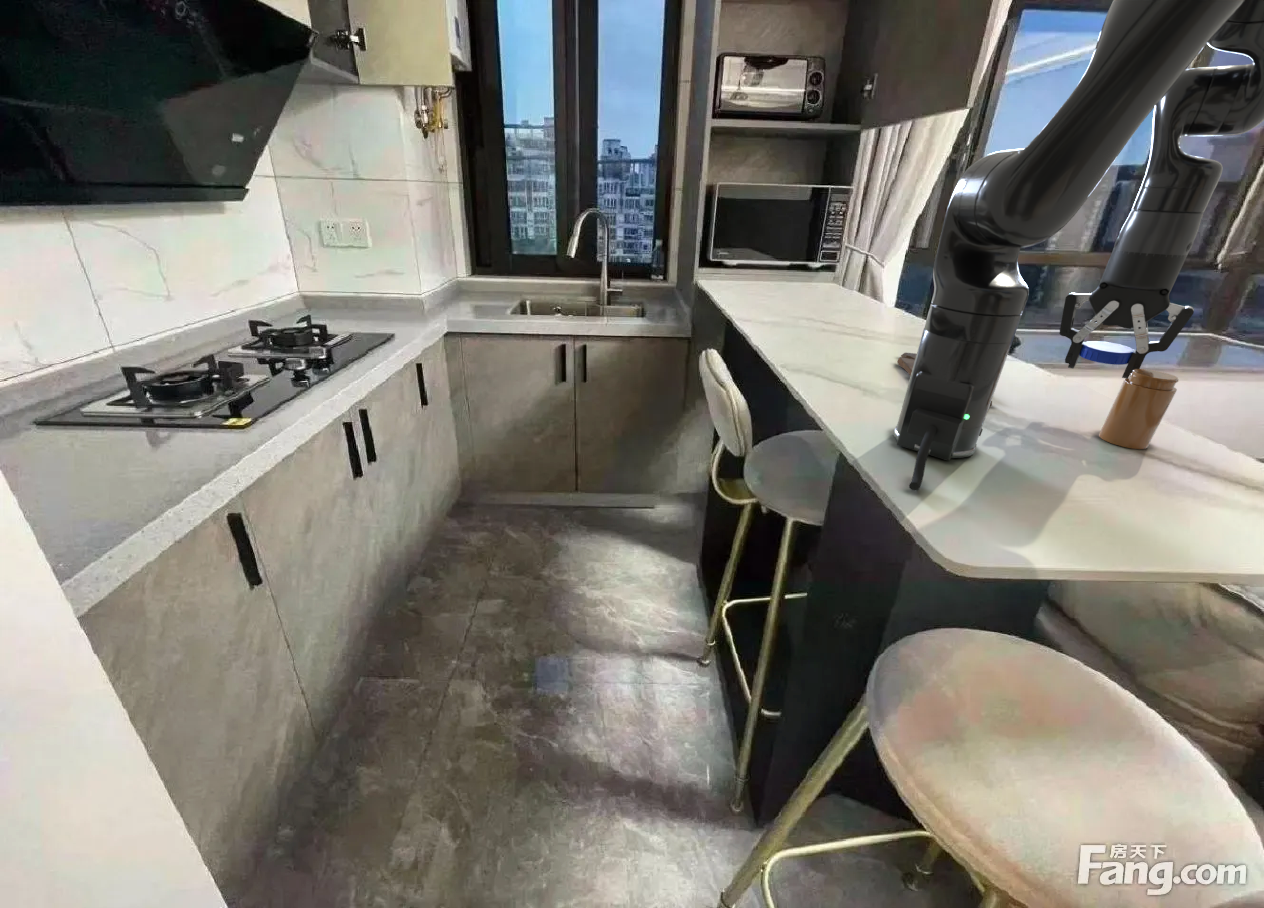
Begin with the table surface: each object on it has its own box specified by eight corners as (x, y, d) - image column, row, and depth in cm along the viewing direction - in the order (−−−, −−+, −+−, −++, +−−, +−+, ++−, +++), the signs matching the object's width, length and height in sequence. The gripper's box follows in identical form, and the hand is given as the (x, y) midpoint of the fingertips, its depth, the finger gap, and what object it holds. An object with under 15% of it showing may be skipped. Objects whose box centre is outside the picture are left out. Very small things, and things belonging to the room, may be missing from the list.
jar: (1146, 452, 70) (1182, 383, 66) (1096, 440, 73) (1127, 373, 69) (1148, 441, 73) (1182, 374, 69) (1100, 429, 76) (1130, 365, 72)
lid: (1119, 354, 80) (1124, 343, 79) (1137, 366, 75) (1142, 355, 74) (1072, 350, 81) (1077, 339, 80) (1087, 362, 76) (1091, 350, 76)
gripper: (1225, 253, 69) (1163, 378, 77) (1086, 243, 78) (1043, 356, 86) (1227, 256, 64) (1161, 390, 72) (1079, 245, 73) (1034, 366, 81)
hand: (1097, 371), depth 79 cm, fingers closed on lid, 5 cm apart
